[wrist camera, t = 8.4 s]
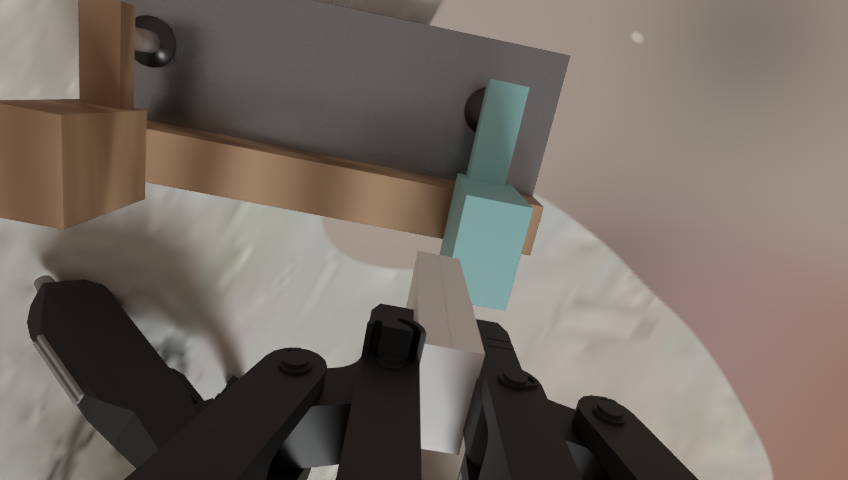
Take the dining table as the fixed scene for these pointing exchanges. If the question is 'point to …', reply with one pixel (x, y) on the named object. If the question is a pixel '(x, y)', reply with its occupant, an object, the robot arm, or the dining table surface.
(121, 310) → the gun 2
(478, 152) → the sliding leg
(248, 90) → the bolt plate
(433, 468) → the dining table surface
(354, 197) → the wooden clamp
